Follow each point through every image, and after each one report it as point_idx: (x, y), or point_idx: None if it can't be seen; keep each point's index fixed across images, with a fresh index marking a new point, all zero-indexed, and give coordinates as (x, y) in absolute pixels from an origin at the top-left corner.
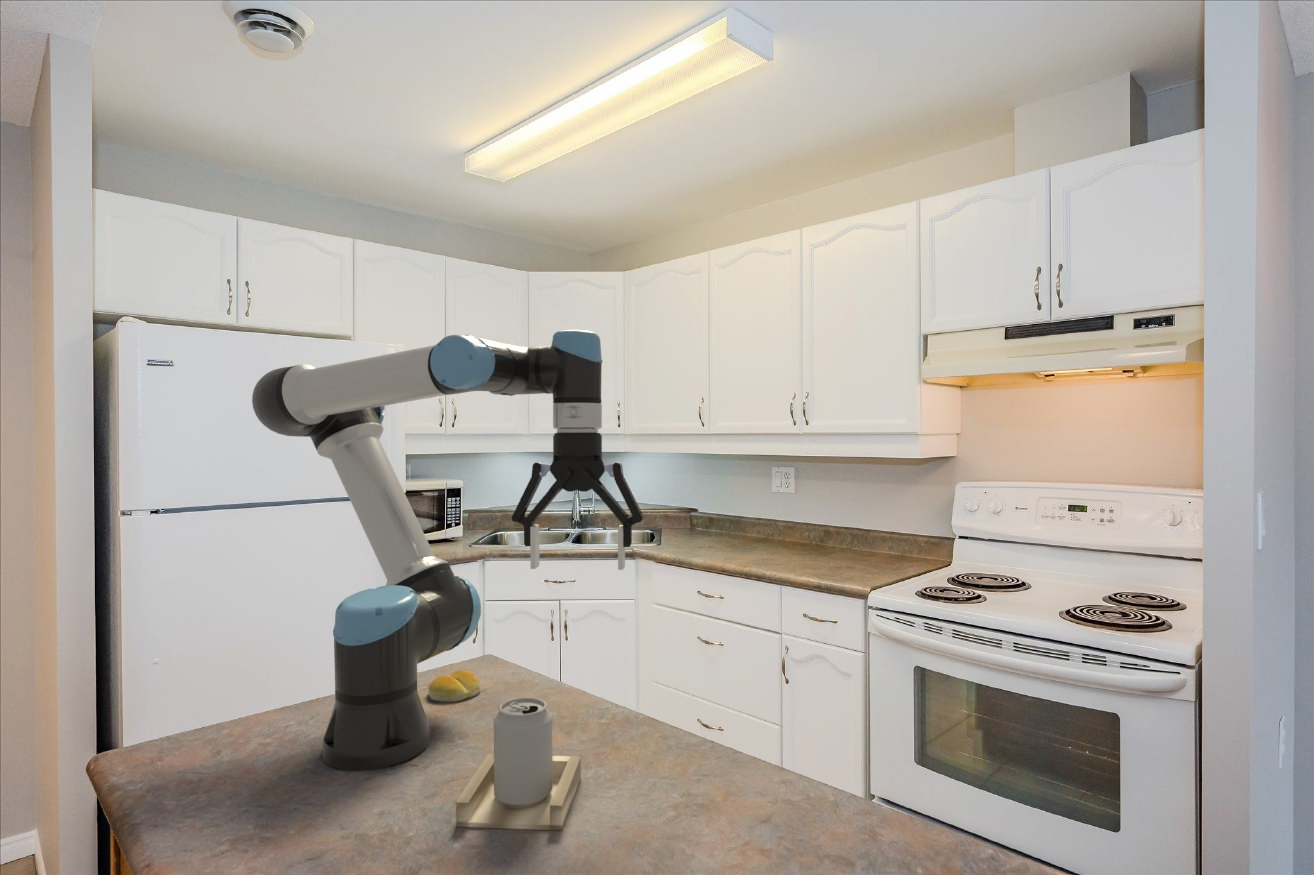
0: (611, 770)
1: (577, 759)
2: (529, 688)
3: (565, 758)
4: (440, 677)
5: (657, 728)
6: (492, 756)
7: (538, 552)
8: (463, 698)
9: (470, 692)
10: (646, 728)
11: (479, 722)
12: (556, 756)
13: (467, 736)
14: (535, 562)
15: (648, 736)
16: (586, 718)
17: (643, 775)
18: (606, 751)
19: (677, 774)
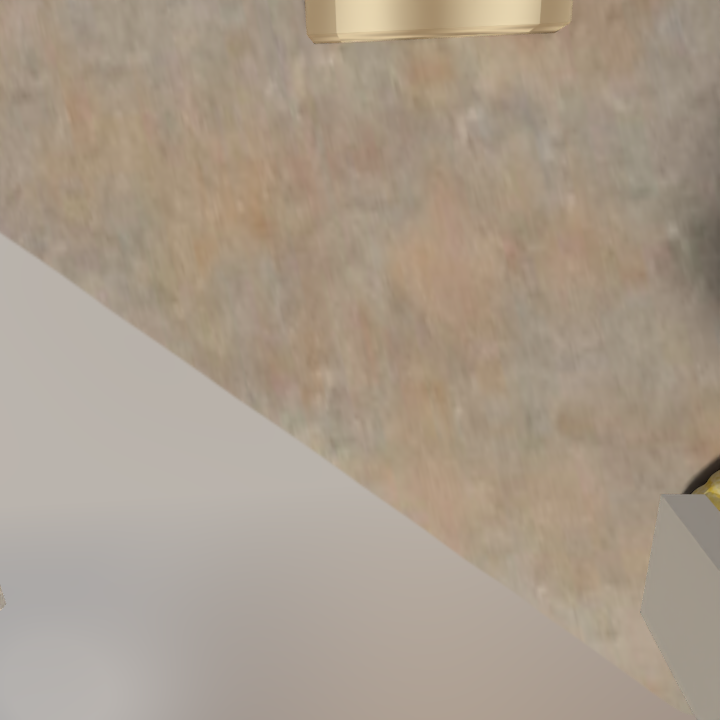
0: (248, 97)
1: (311, 14)
2: (551, 547)
3: (345, 16)
4: None
5: (189, 341)
6: (555, 6)
7: (700, 691)
8: (714, 473)
9: (702, 491)
10: (215, 339)
11: (642, 344)
12: (373, 27)
13: (658, 259)
14: (685, 535)
15: (200, 296)
16: (372, 385)
17: (166, 77)
18: (283, 203)
19: (87, 92)
